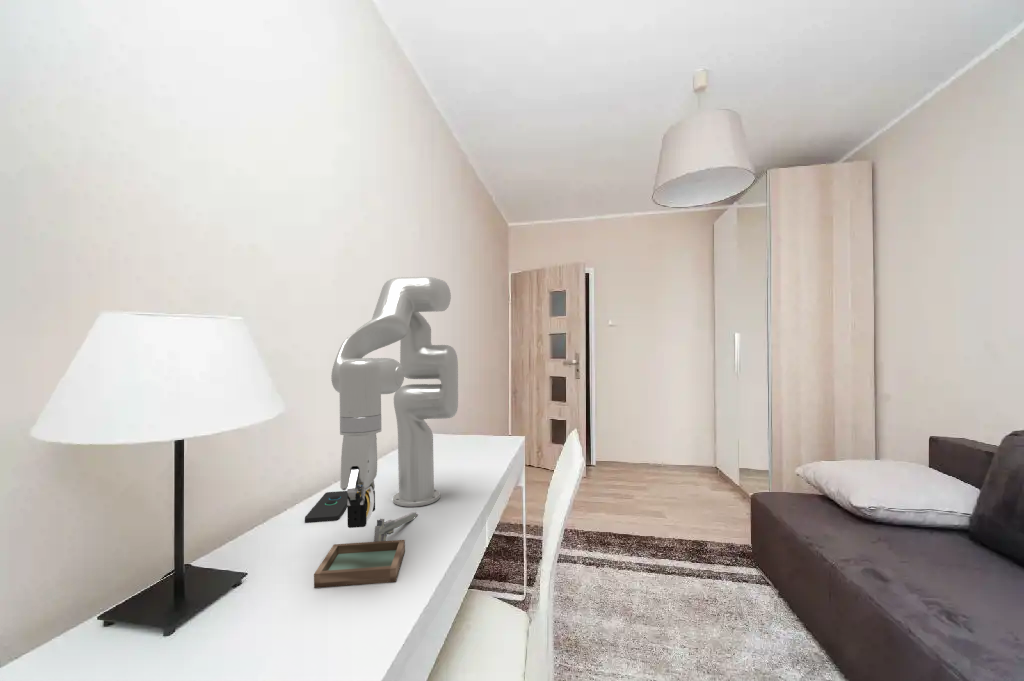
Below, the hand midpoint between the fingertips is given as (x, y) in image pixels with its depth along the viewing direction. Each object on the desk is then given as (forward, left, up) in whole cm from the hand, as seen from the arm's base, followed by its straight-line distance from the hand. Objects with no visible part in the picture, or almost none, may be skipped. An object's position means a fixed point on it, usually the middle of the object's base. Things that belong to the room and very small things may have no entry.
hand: (362, 518), depth 85 cm
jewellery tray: (0, 0, -9) cm, 9 cm away
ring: (0, 0, -2) cm, 2 cm away
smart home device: (-36, -16, -10) cm, 40 cm away
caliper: (-17, +4, -10) cm, 20 cm away
